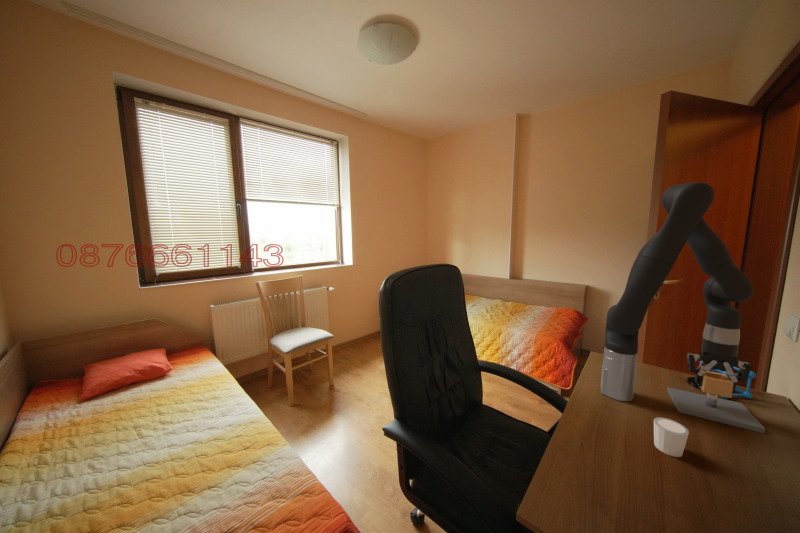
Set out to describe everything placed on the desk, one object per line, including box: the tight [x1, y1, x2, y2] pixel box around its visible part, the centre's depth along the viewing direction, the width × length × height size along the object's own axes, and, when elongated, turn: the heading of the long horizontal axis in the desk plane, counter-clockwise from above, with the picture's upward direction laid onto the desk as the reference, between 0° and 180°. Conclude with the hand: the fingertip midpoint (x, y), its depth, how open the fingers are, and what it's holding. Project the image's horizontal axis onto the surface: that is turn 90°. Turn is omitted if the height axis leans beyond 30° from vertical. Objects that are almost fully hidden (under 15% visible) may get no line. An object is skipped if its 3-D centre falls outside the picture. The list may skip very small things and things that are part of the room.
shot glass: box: [653, 417, 690, 458], centre depth 74 cm, size 7×7×7 cm
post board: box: [666, 386, 766, 434], centre depth 90 cm, size 18×14×2 cm
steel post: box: [705, 393, 719, 408], centre depth 90 cm, size 2×2×6 cm
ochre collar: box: [699, 370, 734, 399], centre depth 89 cm, size 6×6×5 cm
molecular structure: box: [699, 360, 757, 399], centre depth 99 cm, size 10×10×10 cm
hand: (713, 387), depth 89 cm, fingers closed on ochre collar, 6 cm apart
